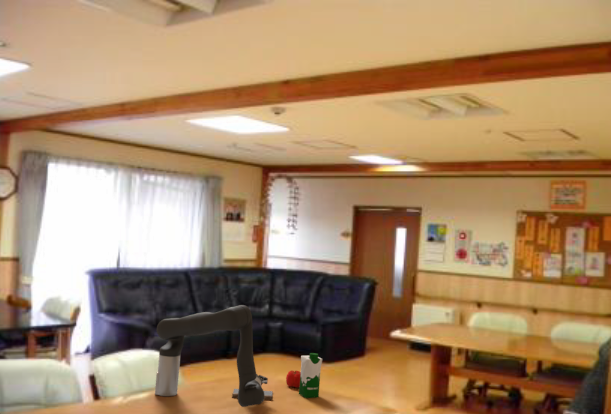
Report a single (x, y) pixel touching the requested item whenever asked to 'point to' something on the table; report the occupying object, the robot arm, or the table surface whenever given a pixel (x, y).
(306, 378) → the milk carton
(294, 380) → the tomato
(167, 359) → the robot arm
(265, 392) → the mat
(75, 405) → the table surface
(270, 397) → the rail
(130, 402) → the table surface
